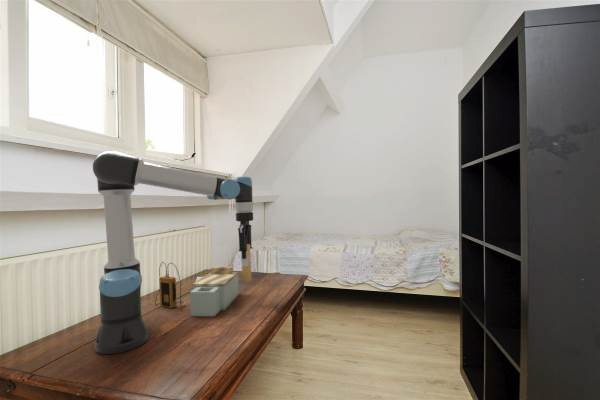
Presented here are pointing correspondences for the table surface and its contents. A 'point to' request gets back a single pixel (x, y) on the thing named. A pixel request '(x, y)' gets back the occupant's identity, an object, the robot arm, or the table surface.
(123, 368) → the table surface
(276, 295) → the table surface
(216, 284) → the lid
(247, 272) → the long wooden block
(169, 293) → the multimeter
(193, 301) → the toolbox
